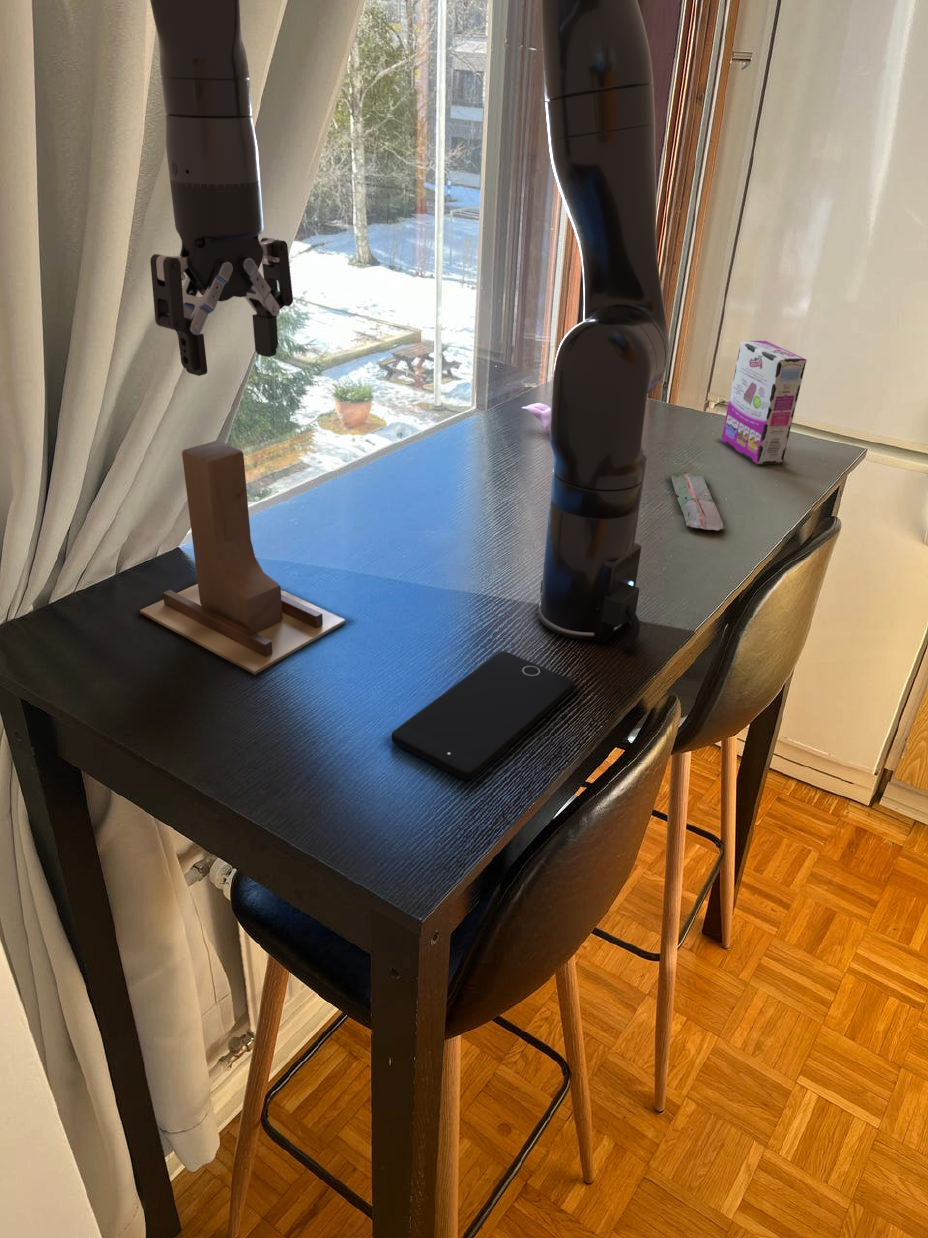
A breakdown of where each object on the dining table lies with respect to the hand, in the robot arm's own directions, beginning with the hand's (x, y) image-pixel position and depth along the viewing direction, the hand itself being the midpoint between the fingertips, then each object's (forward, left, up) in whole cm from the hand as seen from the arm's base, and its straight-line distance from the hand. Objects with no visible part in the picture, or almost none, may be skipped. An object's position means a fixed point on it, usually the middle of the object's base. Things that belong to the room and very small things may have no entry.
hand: (232, 363), depth 89 cm
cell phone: (-30, -1, -27) cm, 41 cm away
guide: (0, +2, -27) cm, 27 cm away
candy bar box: (-22, -85, -28) cm, 92 cm away
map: (-24, -60, -27) cm, 71 cm away
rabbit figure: (+5, -70, -27) cm, 76 cm away
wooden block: (0, +2, -27) cm, 27 cm away
